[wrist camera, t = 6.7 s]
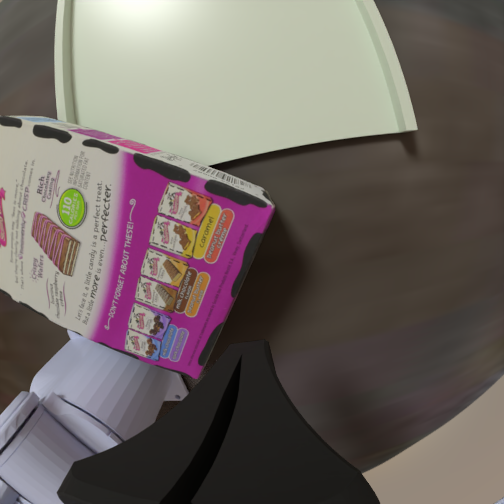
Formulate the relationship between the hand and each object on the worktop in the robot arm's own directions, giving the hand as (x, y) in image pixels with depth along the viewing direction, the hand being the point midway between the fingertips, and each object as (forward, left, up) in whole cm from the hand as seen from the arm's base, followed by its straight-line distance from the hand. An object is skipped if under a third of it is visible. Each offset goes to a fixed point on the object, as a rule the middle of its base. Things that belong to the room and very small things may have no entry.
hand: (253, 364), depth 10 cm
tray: (0, +18, -9) cm, 20 cm away
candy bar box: (-1, 0, -7) cm, 7 cm away
